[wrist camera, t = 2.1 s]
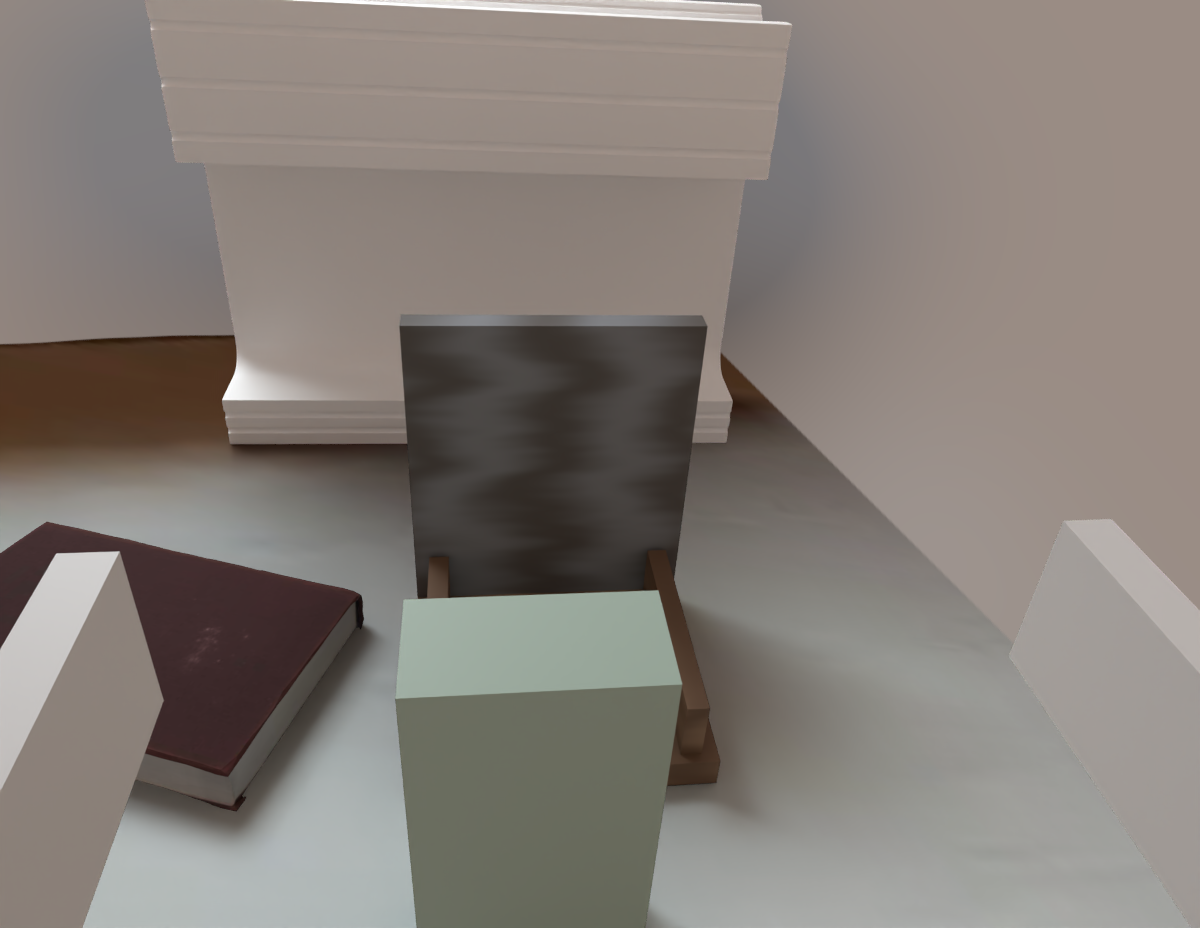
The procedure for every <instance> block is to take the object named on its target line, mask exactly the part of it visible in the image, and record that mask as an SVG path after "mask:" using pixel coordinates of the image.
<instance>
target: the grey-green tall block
mask: <svg viewBox="0 0 1200 928" xmlns="http://www.w3.org/2000/svg"><path fill="white" fill-rule="evenodd" d="M681 690H682V681H681V677H680V673H679V669H678V665H677V661H676V658H675V654H674V650H673V646H672V642H671V638H670V634H669V630H668V626H667V622H666V618H665V614H664V610H663V606H662V603H661V599H660V595H659V591H658V590H656V591H628V592H600V593H573V594H545V595H518V596H490V597H462V598H435V599H407V600H403V612H402V624H401V636H400V648H399V660H398V672H397V684H396V696H395V701H396V712H397V723H398V733H399V744H400V755H401V765H402V776H403V787H404V797H405V808H406V819H407V829H408V840H409V851H410V862H411V872H412V883H413V894H414V904H415V915H416V926H417V928H645V925H646V919H647V912H648V906H649V899H650V893H651V886H652V880H653V873H654V866H655V860H656V853H657V847H658V840H659V834H660V827H661V821H662V814H663V808H664V801H665V795H666V788H667V781H668V775H669V768H670V762H671V755H672V749H673V742H674V736H675V729H676V723H677V716H678V710H679V703H680V696H681Z"/></svg>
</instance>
